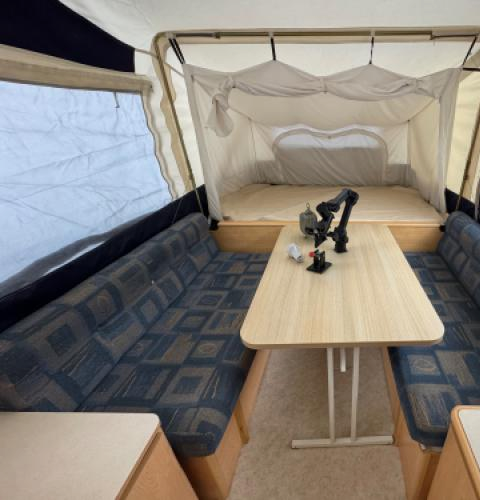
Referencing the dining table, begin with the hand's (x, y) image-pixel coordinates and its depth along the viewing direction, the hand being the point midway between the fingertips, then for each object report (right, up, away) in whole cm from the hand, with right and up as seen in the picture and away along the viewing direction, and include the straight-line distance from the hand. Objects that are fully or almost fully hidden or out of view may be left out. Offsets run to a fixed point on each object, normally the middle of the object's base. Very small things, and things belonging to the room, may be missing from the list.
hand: (315, 247), depth 139 cm
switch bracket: (+2, -11, +9) cm, 14 cm away
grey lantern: (-8, +7, +48) cm, 49 cm away
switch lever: (0, -5, +2) cm, 5 cm away
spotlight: (-13, -6, +18) cm, 23 cm away
